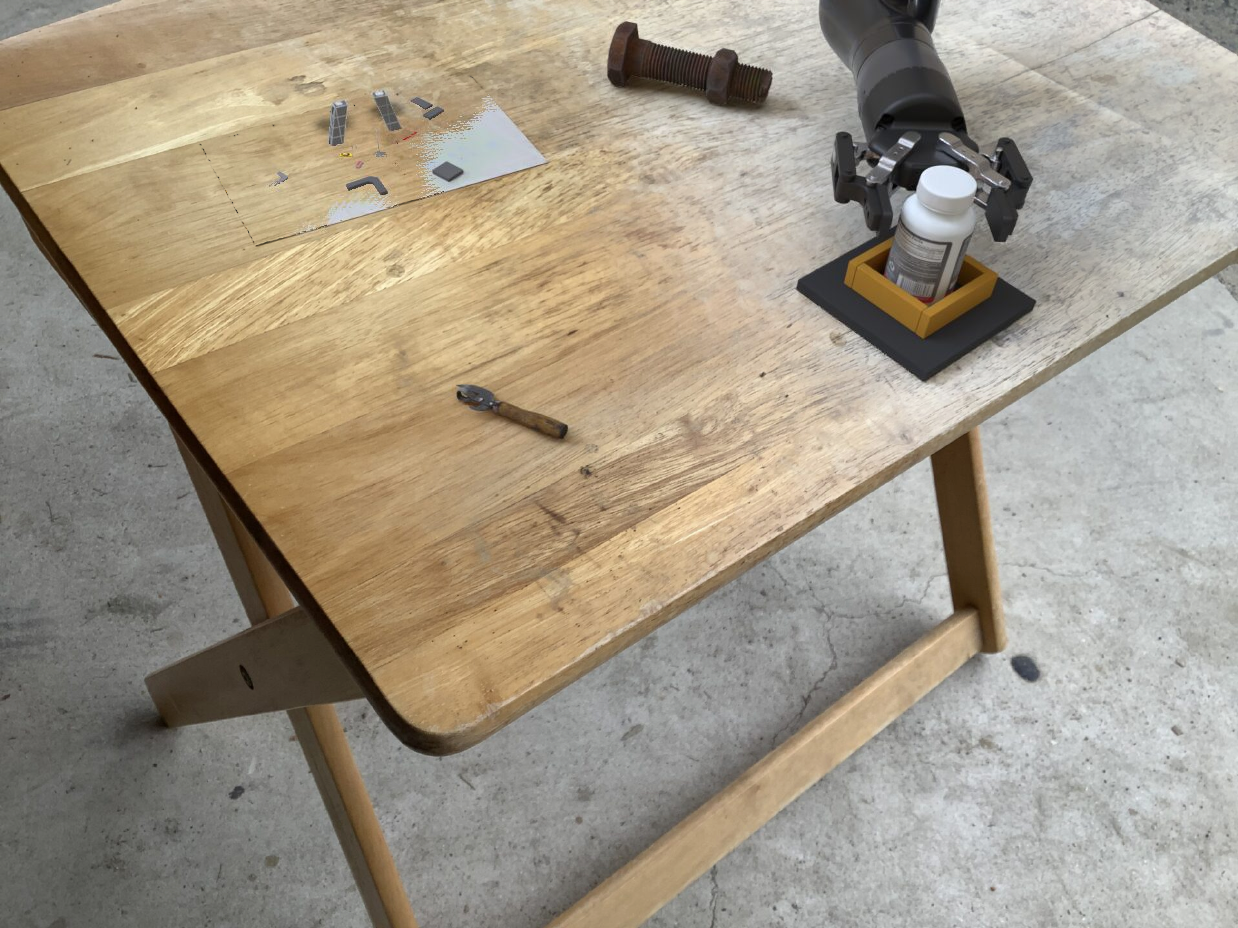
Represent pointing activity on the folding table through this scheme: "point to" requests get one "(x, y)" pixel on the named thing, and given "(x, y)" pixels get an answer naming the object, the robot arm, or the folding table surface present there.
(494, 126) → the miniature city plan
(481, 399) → the can opener
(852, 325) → the dock
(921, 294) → the pill bottle
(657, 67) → the bolt
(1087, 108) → the folding table surface
